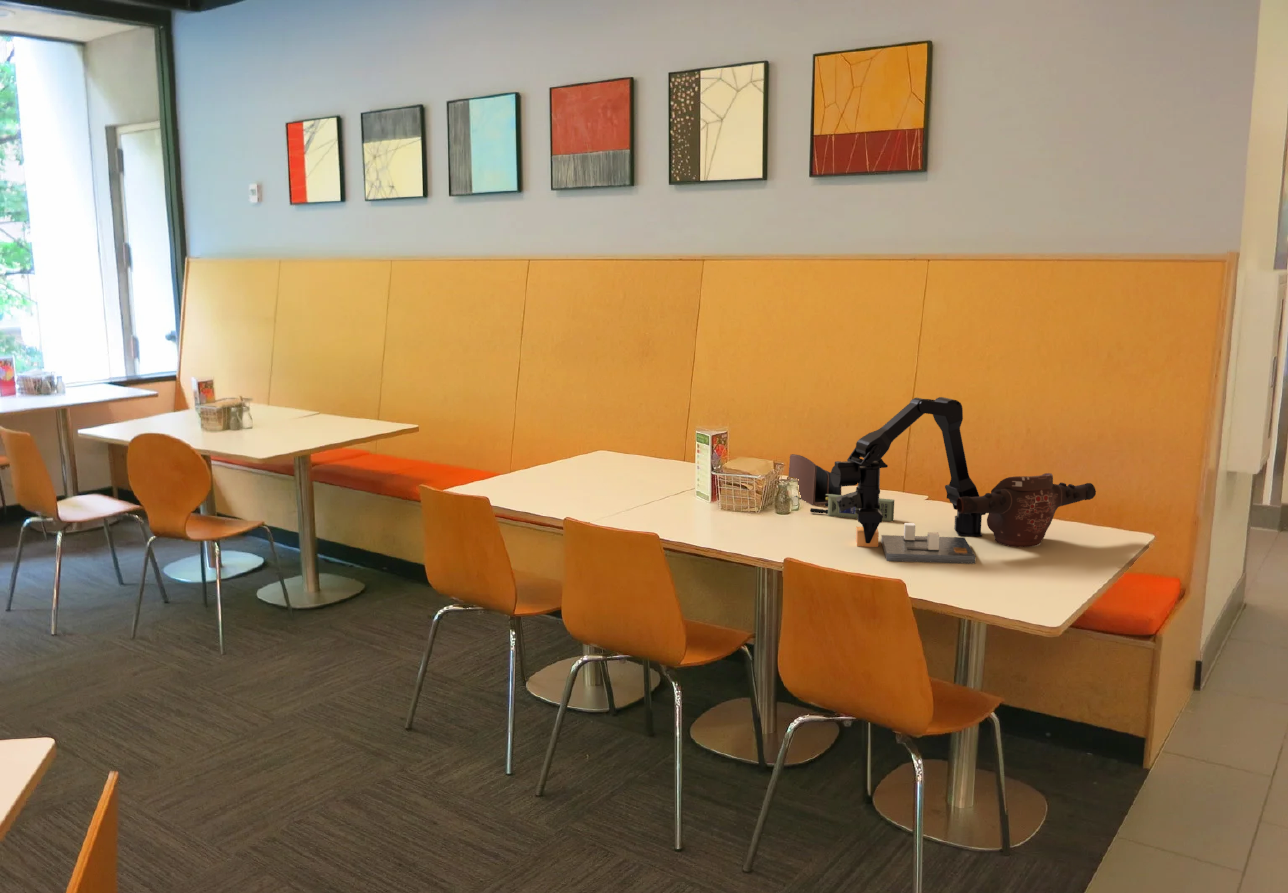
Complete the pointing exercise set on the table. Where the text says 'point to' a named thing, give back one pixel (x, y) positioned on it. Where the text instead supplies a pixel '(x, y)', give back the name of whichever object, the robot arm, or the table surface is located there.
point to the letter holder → (812, 480)
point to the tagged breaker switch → (933, 541)
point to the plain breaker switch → (909, 531)
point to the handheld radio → (834, 510)
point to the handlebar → (1024, 507)
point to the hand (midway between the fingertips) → (867, 540)
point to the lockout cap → (861, 538)
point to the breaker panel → (918, 551)
